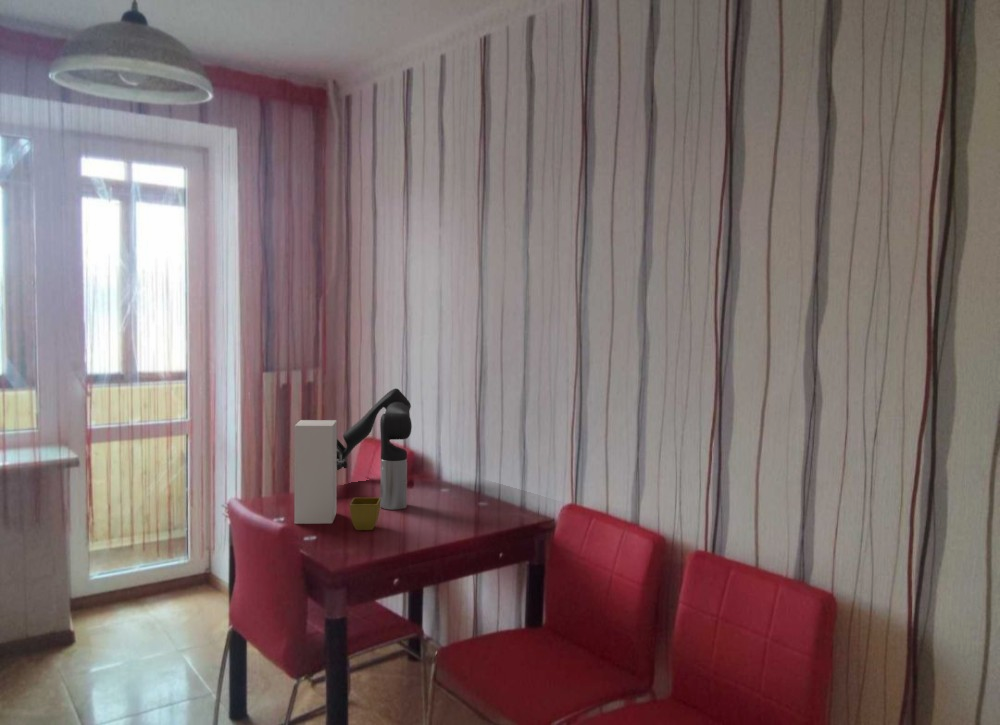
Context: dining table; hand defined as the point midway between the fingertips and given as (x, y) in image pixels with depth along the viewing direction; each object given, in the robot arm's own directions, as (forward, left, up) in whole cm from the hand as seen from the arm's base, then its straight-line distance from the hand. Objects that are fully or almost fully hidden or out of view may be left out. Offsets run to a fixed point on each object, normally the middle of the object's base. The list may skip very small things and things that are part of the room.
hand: (325, 467), depth 274 cm
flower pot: (-17, +38, -12) cm, 43 cm away
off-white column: (0, +26, -12) cm, 29 cm away
